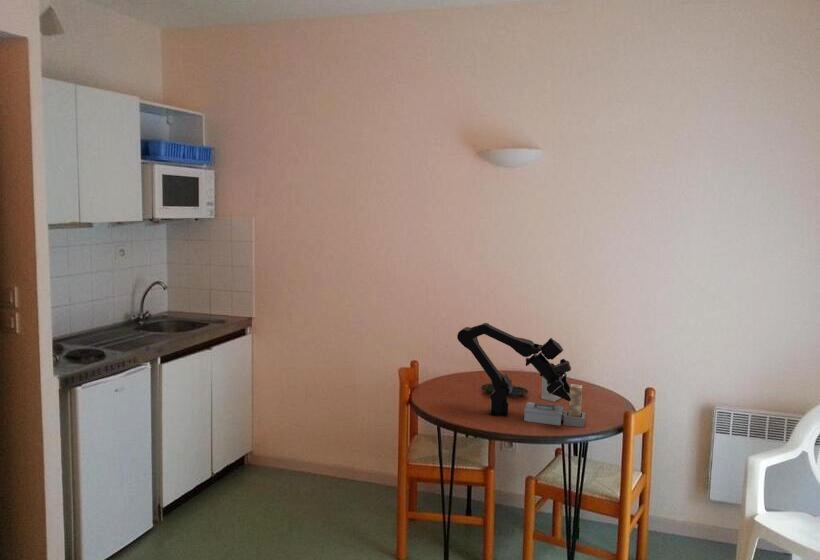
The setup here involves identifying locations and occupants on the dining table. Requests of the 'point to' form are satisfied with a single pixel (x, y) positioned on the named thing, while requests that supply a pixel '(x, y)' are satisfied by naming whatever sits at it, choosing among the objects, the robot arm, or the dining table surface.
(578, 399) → the wooden block
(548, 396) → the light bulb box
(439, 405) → the dining table surface
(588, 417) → the dining table surface
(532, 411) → the toolbox
